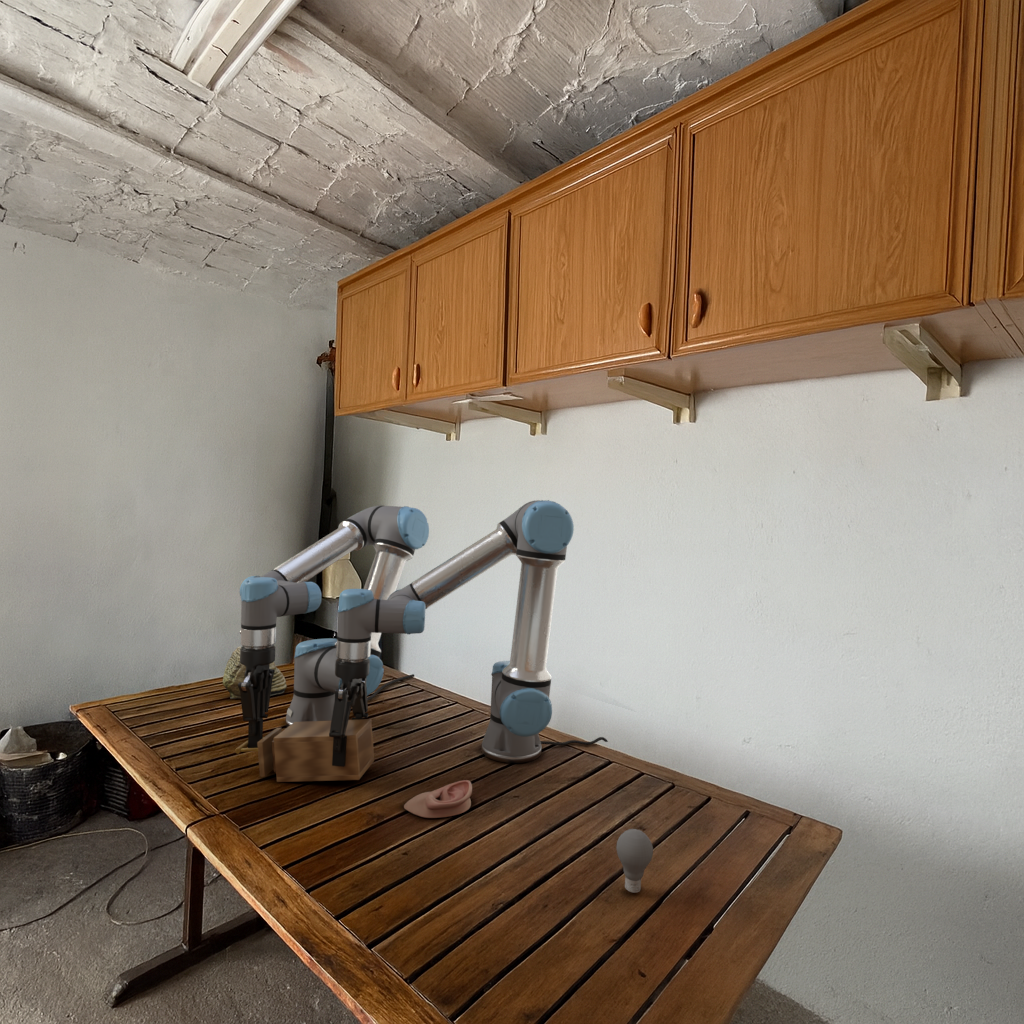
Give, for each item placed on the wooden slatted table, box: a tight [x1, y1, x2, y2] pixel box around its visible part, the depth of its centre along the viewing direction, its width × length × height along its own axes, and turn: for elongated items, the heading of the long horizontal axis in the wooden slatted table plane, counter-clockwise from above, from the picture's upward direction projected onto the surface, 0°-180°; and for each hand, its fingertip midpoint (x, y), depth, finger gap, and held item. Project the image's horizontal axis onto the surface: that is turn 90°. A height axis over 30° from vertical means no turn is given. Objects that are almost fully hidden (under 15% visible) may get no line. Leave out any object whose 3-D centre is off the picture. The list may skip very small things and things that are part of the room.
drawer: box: [234, 727, 283, 778], centre depth 145 cm, size 23×9×8 cm, turn 84°
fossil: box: [222, 646, 288, 699], centre depth 198 cm, size 9×18×15 cm, turn 132°
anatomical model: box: [403, 779, 473, 819], centre depth 132 cm, size 13×4×12 cm
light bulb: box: [615, 828, 654, 894], centre depth 106 cm, size 6×6×10 cm
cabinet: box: [274, 718, 375, 783], centre depth 144 cm, size 19×10×10 cm, turn 84°
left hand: (255, 747), depth 145 cm, fingers closed
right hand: (347, 755), depth 143 cm, fingers closed on cabinet, 10 cm apart
